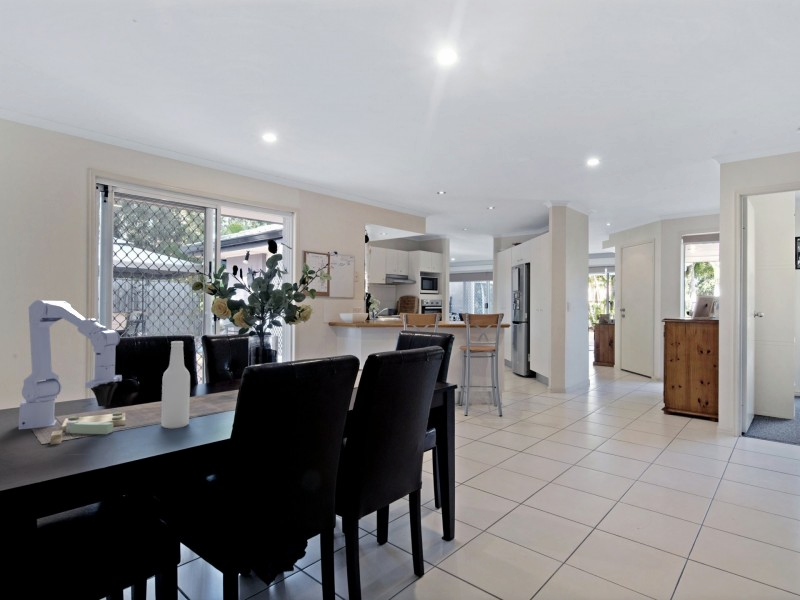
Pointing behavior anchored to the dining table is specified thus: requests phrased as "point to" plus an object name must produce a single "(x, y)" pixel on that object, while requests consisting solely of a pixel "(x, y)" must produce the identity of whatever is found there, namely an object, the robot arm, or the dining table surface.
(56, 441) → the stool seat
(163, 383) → the alcohol
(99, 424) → the hinged leg
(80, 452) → the dining table surface
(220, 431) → the dining table surface
